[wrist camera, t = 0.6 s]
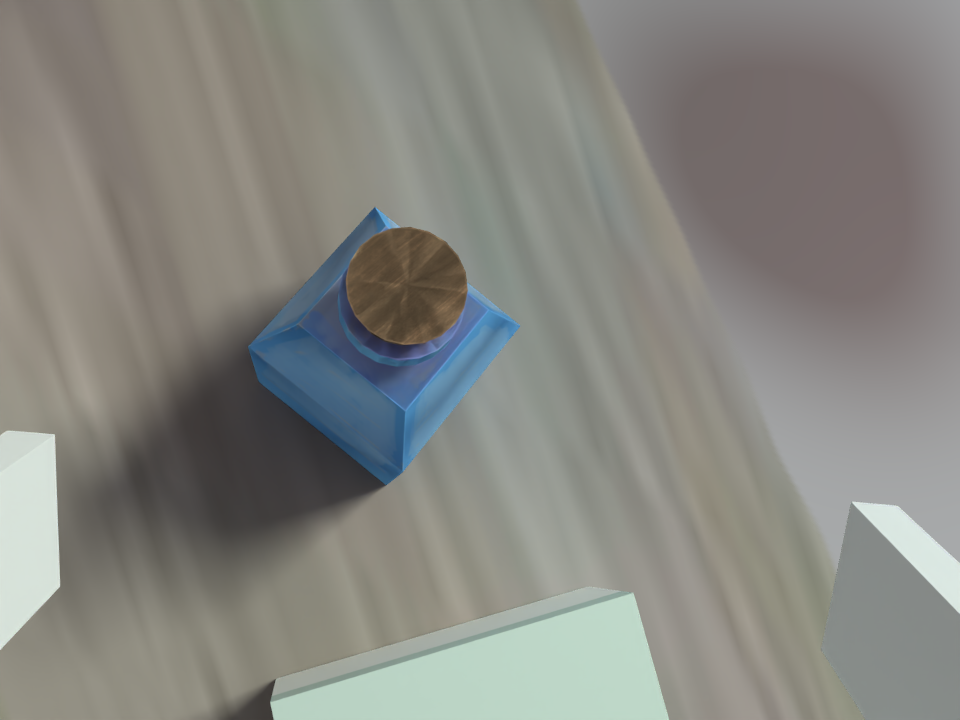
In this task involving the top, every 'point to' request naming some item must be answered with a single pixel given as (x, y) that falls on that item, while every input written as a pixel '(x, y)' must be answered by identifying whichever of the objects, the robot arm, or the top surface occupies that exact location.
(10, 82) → the top surface
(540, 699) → the mint green square block
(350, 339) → the perfume bottle
